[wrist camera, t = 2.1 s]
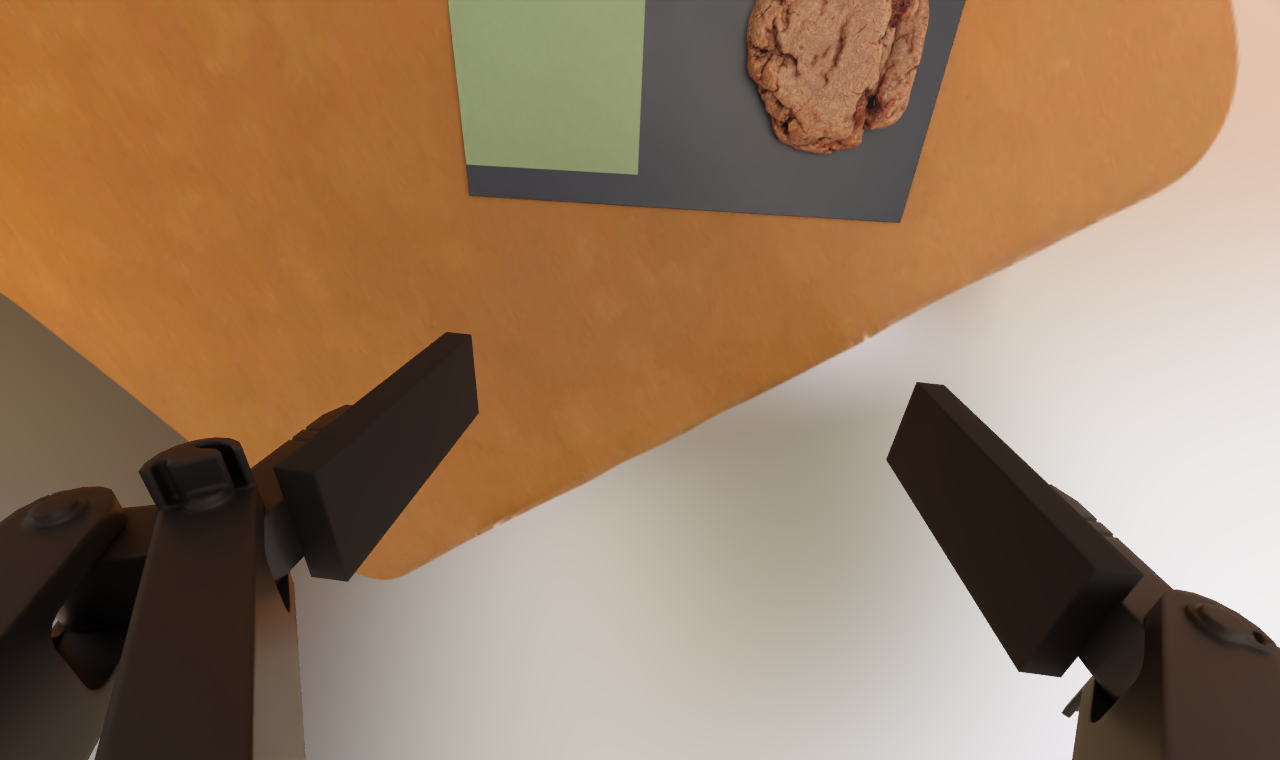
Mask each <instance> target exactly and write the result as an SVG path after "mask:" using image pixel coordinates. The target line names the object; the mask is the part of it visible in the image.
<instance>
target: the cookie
mask: <svg viewBox="0 0 1280 760" xmlns="http://www.w3.org/2000/svg"><path fill="white" fill-rule="evenodd" d="M928 20H929V1H928V0H756V2H755V5H754V7H753V9H752V12H751V14H750V17H749V23H748V30H747V38H746V39H747V49H748V51H749V52H748V60H747V69H748V72H749V75H750V77H751V78H752V79H753V80H754V81H755V82H756V83H757V86H758V91H759V93H760V95H761V98H762V100H763V101H764V102H765V104H766V112H768V113H769V114H770V115H771V117H772V118H771V119H772V127H773V130H774V132H775V134H776V137H777V138H778V139H779V141H780V142H781V143H783V144H786V145H790V146H792V147H793V148H794V149H797V150H802V151H806V152H812V153H817V154H820V153H824V154H828V153H832V152H834V151H837V150H841V149H852V148H856V147H858V146H859V145H860V144H861V142H862V134H863V131H864V130H867V129H869V128H870V129H871V130H873V129H880V128H885V127H887V126H890V125H892V124H894V123H896V122H897V121H898V120H899V118H900V117H901V116H902V114H903V113H904V111H905V110H906V108H907V105H908V102H909V98H910V92H911V89H912V85H913V82H914V78H915V74H916V70H917V65H919V63H920V59H921V56H922V51H923V46H924V41H925V35H926V30H927V27H928Z"/></svg>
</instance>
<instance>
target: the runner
mask: <svg viewBox="0 0 1280 760" xmlns="http://www.w3.org/2000/svg"><path fill="white" fill-rule="evenodd" d="M928 1H929V20H928V27H927V30H926V35H925V41H924V46H923V51H922V56H921V59H920V63H919V65H917V70H916V74H915V78H914V82H913V85H912V89H911V92H910V98H909V102H908V105H907V108H906V110H905V111H904V113H903V114H902V116H901V117H900V118H899V120H898V121H897V122H896V123H894V124H892V125H890V126H887V127H885V128H880V129H873V130H871V129H870V128H869V129H867V130H864V131H863V134H862V142H861V144H860V145H859V146H858V147H856V148H852V149H841V150H837V151H834V152H832V153H828V154H824V153H820V154H817V153H812V152H806V151H802V150H797V149H794V148H793V147H792V146H790V145H786V144H783V143H781V142H780V141H779V139H778V138H777V137H776V134H775V132H774V130H773V127H772V119H771V118H772V117H771V115H770V114H769V113H768V112H766V104H765V102H764V101H763V100H762V98H761V95H760V93H759V91H758V86H757V83H756V82H755V81H754V80H753V79H752V78H751V77H750V75H749V72H748V69H747V60H748V52H749V51H748V49H747V39H746V38H747V30H748V23H749V17H750V14H751V12H752V9H753V7H754V5H755V2H756V0H448V6H449V15H450V24H451V33H452V42H453V51H454V60H455V69H456V78H457V86H458V95H459V104H460V113H461V122H462V131H463V140H464V149H465V158H466V167H467V176H468V185H469V194H470V196H485V197H501V198H516V199H532V200H548V201H564V202H580V203H596V204H611V205H627V206H643V207H659V208H675V209H691V210H706V211H722V212H738V213H754V214H770V215H786V216H801V217H817V218H833V219H849V220H865V221H881V222H897V223H900V222H901V218H902V215H903V211H904V208H905V205H906V201H907V198H908V194H909V191H910V188H911V184H912V181H913V177H914V174H915V171H916V167H917V164H918V160H919V157H920V154H921V150H922V147H923V143H924V140H925V137H926V133H927V130H928V126H929V123H930V119H931V116H932V113H933V109H934V106H935V102H936V99H937V96H938V92H939V89H940V85H941V82H942V79H943V75H944V72H945V68H946V65H947V62H948V58H949V55H950V51H951V48H952V45H953V41H954V38H955V34H956V31H957V28H958V24H959V21H960V17H961V14H962V10H963V7H964V4H965V0H928Z"/></svg>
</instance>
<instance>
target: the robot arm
mask: <svg viewBox="0 0 1280 760" xmlns="http://www.w3.org/2000/svg"><path fill="white" fill-rule="evenodd" d="M478 413H479V410H478V400H477V389H476V379H475V369H474V358H473V348H472V338H471V335H470V334H460V333H451V332H446V333H445V334H443V335H442V336H441V337H439V338H438V339H437V340H436V341H434V342H433V343H432V344H430V345H429V346H428V347H427V348H425V349H424V350H423V351H422V352H420V353H419V354H418V355H416V356H415V357H414V358H413V359H411V360H410V361H409V362H407V363H406V364H405V365H404V366H402V367H401V368H400V369H399V370H397V371H396V372H395V373H393V374H392V375H391V376H390V377H388V378H387V379H386V380H384V381H383V382H382V383H381V384H379V385H378V386H377V387H375V388H374V389H373V390H372V391H370V392H369V393H368V394H367V395H365V396H364V397H363V398H361V399H360V400H359V401H358V402H356V403H355V404H354V405H344V406H342V407H340V408H337V409H335V410H333V411H330V412H328V413H326V414H324V415H322V416H321V417H319V418H318V419H317V420H315V421H314V422H313V423H311V424H310V425H309V426H307V427H306V430H302V431H301V432H299V433H298V434H297V435H295V436H294V437H292V438H293V439H292V440H288V441H287V442H286V443H284V444H283V445H282V446H280V447H279V448H278V449H276V450H275V451H274V452H272V453H271V454H270V455H268V456H267V457H266V458H264V459H263V460H262V461H260V462H259V463H258V464H256V465H255V466H254V467H252V468H251V469H250V467H249V464H248V462H247V459H246V456H245V454H244V451H243V449H242V446H241V444H240V442H238V441H236V440H233V439H231V438H216V437H215V438H207V439H200V440H195V441H191V442H187V443H184V444H181V445H177V446H175V447H172V448H170V449H168V450H166V451H163V452H161V453H159V454H157V455H156V456H154V457H153V458H151V459H150V460H148V461H147V462H146V463H145V464H144V465H143V467H142V468H141V469H140V471H139V474H140V475H141V477H142V480H143V481H144V483H145V485H146V487H147V489H148V491H149V493H150V495H151V497H152V499H153V500H154V503H155V504H156V505H149V506H139V507H129V508H122V507H121V505H120V503H119V501H118V500H117V498H116V496H115V495H114V493H113V491H112V490H111V489H108V488H104V487H100V486H99V487H81V488H77V489H72V490H67V491H61V492H57V493H54V494H52V495H50V496H49V495H48V496H45V497H42V498H40V499H38V500H36V501H35V502H33V503H31V504H28V505H26V506H24V507H22V508H20V509H18V510H17V511H15V512H14V513H12V514H11V515H10V516H8V517H7V518H5V519H4V520H3V521H1V522H0V760H88V759H89V757H90V755H91V753H92V751H93V749H94V747H95V746H96V744H97V742H98V740H99V738H100V741H99V745H98V749H97V752H96V757H95V760H306V758H305V743H304V728H303V713H302V697H301V682H300V667H299V653H298V637H297V622H296V607H295V592H294V582H293V580H292V577H291V575H290V570H291V569H292V568H293V567H294V566H295V565H296V564H297V563H298V562H299V561H300V560H301V559H302V558H303V556H304V557H305V560H306V563H307V565H308V568H309V571H310V574H311V577H317V578H325V579H332V580H340V581H349V579H350V578H351V577H352V576H353V574H354V573H355V572H356V571H357V569H358V568H359V567H360V565H361V564H362V563H363V561H364V560H365V559H366V558H367V556H368V555H369V554H370V552H371V551H372V550H373V549H374V547H375V546H376V545H377V543H378V542H379V541H380V540H381V538H382V537H383V536H384V534H385V533H386V532H387V531H388V529H389V528H390V527H391V525H392V524H393V523H394V522H395V520H396V519H397V518H398V516H399V515H400V514H401V513H402V511H403V510H404V509H405V507H406V506H407V505H408V503H409V502H410V501H411V500H412V498H413V497H414V496H415V494H416V493H417V492H418V491H419V489H420V488H421V487H422V485H423V484H424V483H425V482H426V480H427V479H428V478H429V476H430V475H431V474H432V473H433V471H434V470H435V469H436V467H437V466H438V465H439V464H440V462H441V461H442V460H443V458H444V457H445V456H446V455H447V453H448V452H449V451H450V449H451V448H452V447H453V445H454V444H455V443H456V442H457V440H458V439H459V438H460V436H461V435H462V434H463V433H464V431H465V430H466V429H467V427H468V426H469V425H470V424H471V422H472V421H473V420H474V418H475V417H476V416H477V415H478ZM886 460H887V462H888V463H889V465H890V466H891V468H892V469H893V471H894V473H895V474H896V476H897V478H898V479H899V481H900V482H901V484H902V485H903V487H904V489H905V490H906V492H907V494H908V495H909V497H910V498H911V500H912V502H913V503H914V505H915V506H916V508H917V510H918V511H919V512H920V514H921V516H922V517H923V519H924V521H925V522H926V524H927V525H928V527H929V529H930V530H931V532H932V533H933V535H934V537H935V538H936V540H937V541H938V543H939V545H940V546H941V548H942V550H943V551H944V553H945V554H946V556H947V558H948V559H949V561H950V562H951V564H952V566H953V567H954V569H955V570H956V572H957V574H958V575H959V577H960V578H961V580H962V581H963V583H964V584H965V586H966V588H967V589H968V591H969V593H970V594H971V596H972V597H973V599H974V601H975V602H976V604H977V606H978V607H979V609H980V610H981V612H982V613H983V615H984V617H985V618H986V620H987V622H988V623H989V625H990V626H991V628H992V630H993V631H994V633H995V634H996V636H997V637H998V639H999V641H1000V642H1001V644H1002V645H1003V647H1004V649H1005V650H1006V652H1007V653H1008V655H1009V657H1010V658H1011V660H1012V661H1013V663H1014V665H1015V666H1016V668H1017V669H1018V671H1019V672H1026V673H1034V674H1041V675H1048V676H1055V677H1061V676H1062V675H1063V674H1064V672H1066V670H1067V669H1068V668H1069V667H1070V665H1071V664H1072V663H1073V662H1074V660H1075V659H1076V658H1077V657H1079V658H1080V659H1081V661H1082V662H1083V663H1084V665H1085V666H1086V667H1087V669H1088V670H1089V671H1090V672H1091V674H1092V675H1093V676H1092V677H1091V678H1090V679H1089V681H1088V682H1087V683H1086V684H1085V685H1084V686H1083V687H1082V688H1081V690H1080V691H1079V692H1078V693H1077V694H1076V695H1075V697H1074V698H1073V699H1072V700H1071V701H1070V702H1069V704H1068V705H1067V706H1066V707H1065V709H1064V710H1063V712H1062V713H1063V714H1064V715H1066V716H1067V717H1070V716H1071V715H1072V714H1073V713H1074V712H1075V711H1079V717H1078V724H1077V730H1076V737H1075V744H1074V752H1073V759H1072V760H1280V648H1279V647H1277V646H1276V644H1275V643H1274V641H1272V640H1271V639H1270V638H1269V637H1268V636H1267V635H1266V634H1265V633H1264V632H1263V631H1262V630H1261V629H1260V628H1258V627H1257V626H1256V625H1254V624H1253V623H1251V622H1250V621H1248V620H1247V619H1246V618H1244V617H1243V616H1241V615H1240V614H1238V613H1237V612H1235V611H1233V610H1231V609H1229V608H1227V607H1226V606H1224V605H1222V604H1220V603H1218V602H1216V601H1214V600H1211V599H1209V598H1206V597H1203V596H1201V595H1198V594H1195V593H1191V592H1187V591H1181V590H1173V589H1172V588H1171V587H1170V586H1169V585H1168V584H1167V583H1165V582H1164V581H1163V580H1162V579H1161V578H1160V577H1159V576H1158V575H1157V574H1155V572H1154V571H1152V570H1151V569H1150V568H1149V567H1148V566H1147V565H1146V564H1145V563H1144V562H1143V561H1142V560H1141V559H1139V558H1138V557H1137V556H1136V555H1135V554H1134V553H1133V552H1132V551H1131V550H1130V549H1129V548H1127V547H1126V546H1125V545H1124V544H1123V543H1122V542H1121V541H1120V540H1119V539H1118V538H1114V537H1113V534H1112V533H1111V532H1110V531H1109V530H1108V529H1107V528H1106V527H1105V526H1103V524H1101V523H1099V522H1097V521H1096V520H1097V519H1096V518H1095V517H1094V516H1093V515H1092V514H1091V513H1090V512H1088V511H1087V510H1086V509H1085V508H1084V507H1083V506H1082V505H1081V504H1080V503H1079V502H1078V501H1076V500H1074V499H1073V498H1071V497H1070V496H1068V495H1067V494H1065V493H1064V492H1062V491H1060V490H1059V489H1057V488H1056V487H1054V486H1052V485H1049V484H1048V483H1047V482H1046V481H1045V480H1043V479H1042V478H1041V477H1040V476H1039V475H1038V474H1037V473H1036V472H1035V471H1034V470H1033V469H1031V467H1030V466H1028V464H1027V463H1026V462H1025V461H1023V460H1022V459H1021V458H1020V457H1019V456H1018V455H1017V454H1016V453H1015V452H1014V451H1013V450H1012V449H1011V448H1010V447H1009V446H1008V445H1007V444H1005V443H1004V442H1003V441H1002V440H1001V439H1000V438H999V437H998V436H997V435H996V434H995V433H994V432H993V431H992V430H991V429H990V428H988V426H987V425H985V424H984V423H983V422H982V421H981V420H980V419H979V418H978V417H977V416H976V415H975V414H974V413H973V412H972V411H971V410H970V409H969V408H968V407H967V406H965V405H964V404H963V403H962V402H961V401H960V400H959V399H958V398H957V397H956V396H955V395H954V394H953V393H952V392H951V391H949V389H948V388H946V387H945V386H944V385H938V384H929V383H920V382H917V383H916V385H915V388H914V390H913V393H912V395H911V398H910V400H909V403H908V406H907V408H906V411H905V413H904V416H903V418H902V421H901V424H900V426H899V429H898V431H897V434H896V436H895V439H894V441H893V444H892V447H891V449H890V452H889V454H888V457H887V459H886ZM55 618H57V620H58V621H57V623H56V624H55V625H54V627H53V628H52V623H53V621H54V620H55Z"/></svg>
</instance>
